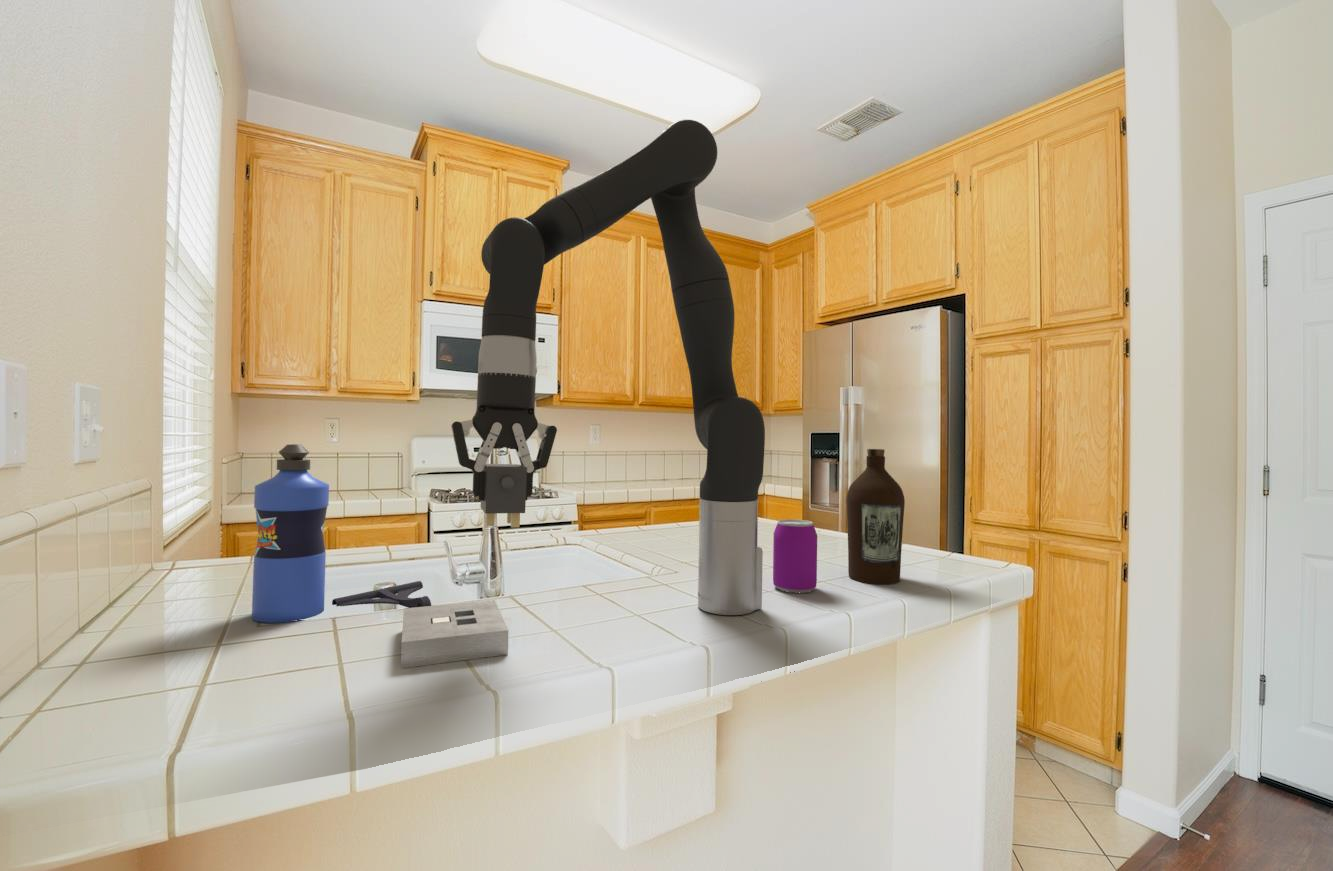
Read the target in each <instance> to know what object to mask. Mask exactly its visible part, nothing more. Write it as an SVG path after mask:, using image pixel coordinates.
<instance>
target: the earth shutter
mask: <svg viewBox="0 0 1333 871" xmlns="http://www.w3.org/2000/svg"><path fill="white" fill-rule="evenodd" d="M444 622H450V620H449V617H443V618H433V619H432V624H434V623H444Z"/></svg>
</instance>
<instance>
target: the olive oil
mask: <svg viewBox="0 0 1333 871" xmlns="http://www.w3.org/2000/svg"><path fill="white" fill-rule="evenodd" d="M866 450H867V451H866V453H867V456H865V457H866V468H865V469H864V471H863V472H862V473H860V474H859V476H857V478H855V479H854V481H853V482H852V483H851V484H850V485H849V487H848V491H847V494H846V502H845V503H846V519H847V520H846V523H847V524H846V526H847V527H846V528H847V551H848V552H847V553H848V556H847V558H848V560H847V561H848V564H847V565H848V569H847V570H848V577H849V578H850V579H851V580H854V581H857V580H858V581H857V582H860V581H861V583H865V582H867V583H866V584H872V583H875V584H874V585H892V583H893V584H897V583H899V582H900V580H901V567H902V566H901V564H902V547H903V544H902V543H903V532H904V531H903V529H904V528H903V527H904V518H905V506H906V505H905V495H904V492H903V489H902V486H900V484H899V483H898V482H897V481H896V480H895V478H893V476H892V475H891V474H890V473H889V472H888V470H886V468H885V466H886V457H885V449H884V448H867V449H866Z"/></svg>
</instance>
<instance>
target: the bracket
mask: <svg viewBox="0 0 1333 871" xmlns="http://www.w3.org/2000/svg"><path fill="white" fill-rule="evenodd" d="M422 588H424V586H423V582H422V581H421V580H418V581H417V580H416V581H412V582H409V583H404V584H399V585H394V586H389V587H385V588H380V589H374V590H370V591H366V592H365V591H364V592H360V593H356V594H351V595H346V596H341V597H337V598H333V599H332V601H331V605H333V606H335V607H347V606H358V605H371V604H372V605H375V604H386V605H387V604H389V605H399V606H402V607H405V608H414V607H425V606H432V602H431V599H430V598H429V597H428V595H424V596H419V597H413V598H412V597H409V596H410V595H412V594H413V593H415V592H417V591H419V590H421V589H422Z"/></svg>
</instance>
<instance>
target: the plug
mask: <svg viewBox="0 0 1333 871" xmlns="http://www.w3.org/2000/svg"><path fill="white" fill-rule="evenodd" d="M484 472H485V492H484V501H480V508H481V510H482V511H483V513H484V514H485V526H486V527H491V526H492V527H493V526H495V521H496V520H495V519H496V516H495V515H496V514H506V523H507V524H510V528H520V523H521V521H520V520H521V514H526V480H527V467H525V466H522V465H521V463H520V464H518V463H517V464H514V463H486V465H485V467H484Z"/></svg>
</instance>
